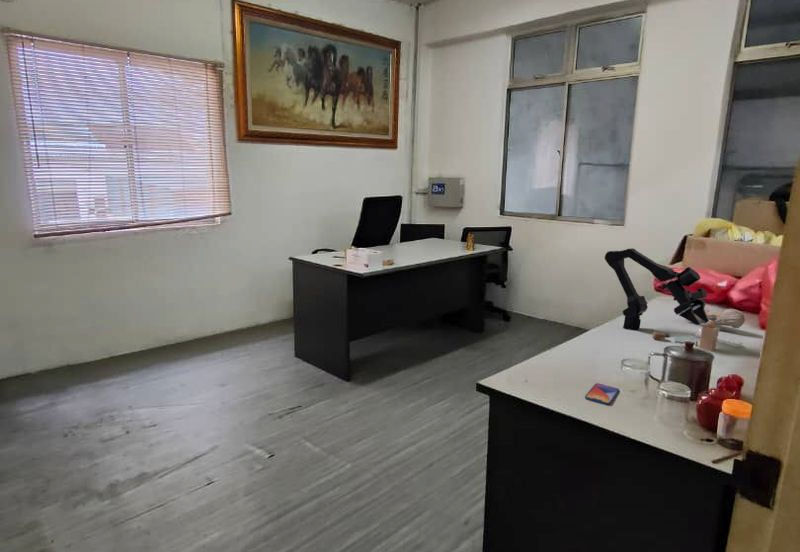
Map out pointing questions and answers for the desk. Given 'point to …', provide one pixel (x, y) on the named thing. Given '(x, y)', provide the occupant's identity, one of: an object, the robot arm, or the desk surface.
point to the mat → (682, 339)
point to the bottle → (709, 335)
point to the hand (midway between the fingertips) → (703, 323)
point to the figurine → (724, 318)
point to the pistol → (718, 339)
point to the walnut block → (659, 336)
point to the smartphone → (602, 394)
